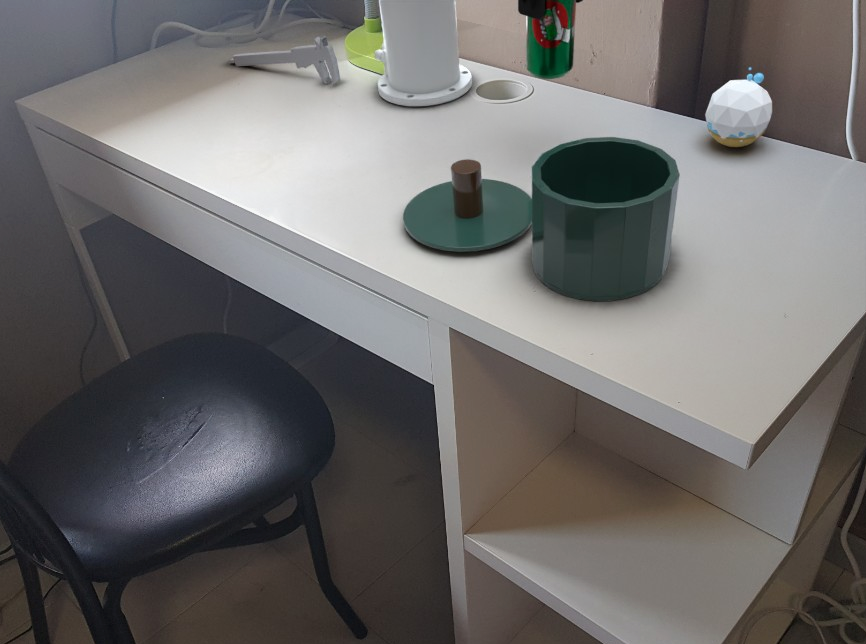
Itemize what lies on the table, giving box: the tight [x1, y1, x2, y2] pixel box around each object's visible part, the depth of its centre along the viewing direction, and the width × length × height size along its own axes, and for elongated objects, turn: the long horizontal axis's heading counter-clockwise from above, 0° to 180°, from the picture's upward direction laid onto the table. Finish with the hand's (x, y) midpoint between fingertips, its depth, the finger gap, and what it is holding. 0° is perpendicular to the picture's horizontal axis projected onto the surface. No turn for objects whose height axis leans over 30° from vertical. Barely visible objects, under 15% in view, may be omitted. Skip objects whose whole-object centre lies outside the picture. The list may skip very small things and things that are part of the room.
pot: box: [531, 136, 680, 302], centre depth 77 cm, size 13×13×10 cm
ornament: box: [704, 66, 773, 148], centre depth 92 cm, size 7×7×8 cm
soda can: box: [525, 0, 577, 80], centre depth 87 cm, size 5×5×12 cm
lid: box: [402, 158, 532, 253], centre depth 85 cm, size 14×14×6 cm
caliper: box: [228, 35, 341, 85], centre depth 118 cm, size 20×1×6 cm, turn 57°
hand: (550, 5), depth 87 cm, fingers closed on soda can, 5 cm apart
